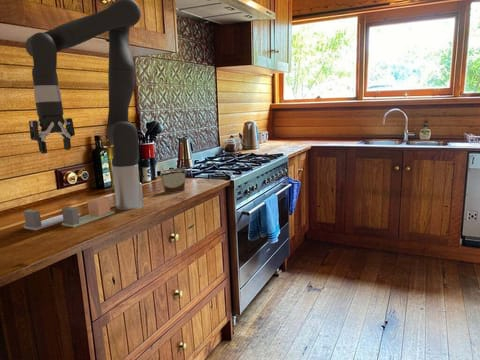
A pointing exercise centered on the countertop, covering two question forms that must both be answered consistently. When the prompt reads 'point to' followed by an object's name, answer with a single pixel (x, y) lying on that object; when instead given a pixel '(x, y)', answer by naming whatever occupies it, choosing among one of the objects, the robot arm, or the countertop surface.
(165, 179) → the food container
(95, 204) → the block
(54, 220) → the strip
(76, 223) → the block strip
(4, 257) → the countertop surface
